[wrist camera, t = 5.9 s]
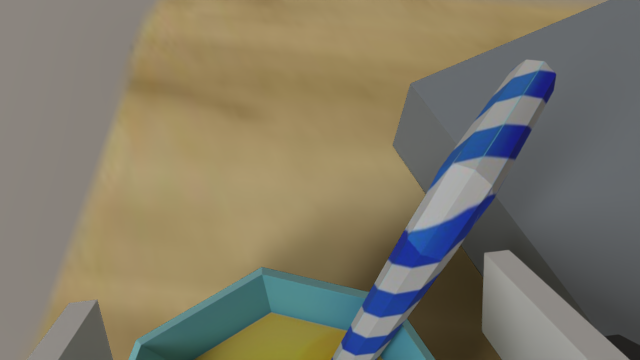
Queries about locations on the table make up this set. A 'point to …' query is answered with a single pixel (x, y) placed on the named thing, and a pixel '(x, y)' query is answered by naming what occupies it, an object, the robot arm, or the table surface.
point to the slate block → (554, 160)
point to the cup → (395, 278)
